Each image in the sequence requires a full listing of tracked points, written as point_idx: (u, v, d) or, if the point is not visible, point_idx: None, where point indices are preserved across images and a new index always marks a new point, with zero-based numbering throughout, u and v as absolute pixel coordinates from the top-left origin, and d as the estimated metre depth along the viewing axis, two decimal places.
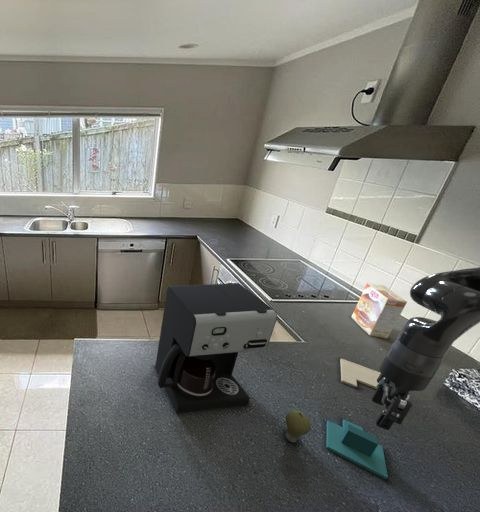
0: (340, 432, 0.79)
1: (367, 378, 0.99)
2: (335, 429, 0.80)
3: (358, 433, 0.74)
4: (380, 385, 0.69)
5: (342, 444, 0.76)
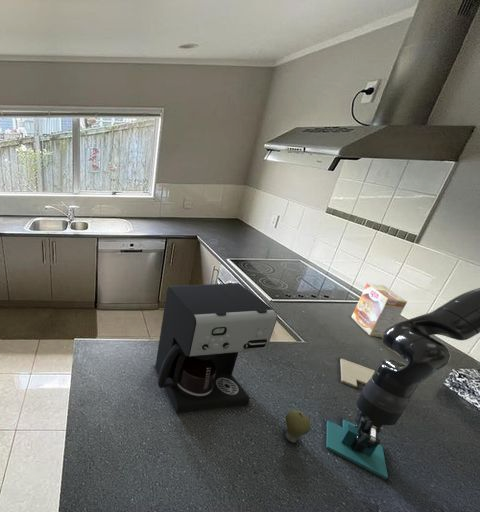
0: (340, 432, 0.79)
1: (367, 378, 0.99)
2: (335, 429, 0.80)
3: None
4: (358, 421, 0.75)
5: (342, 444, 0.76)
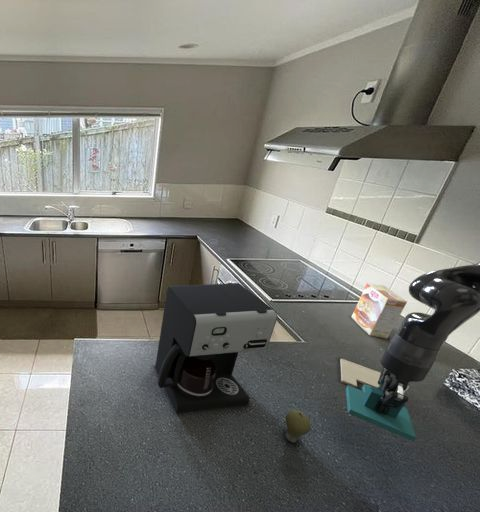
0: (361, 396, 0.76)
1: (367, 378, 0.99)
2: (357, 393, 0.77)
3: None
4: (382, 382, 0.71)
5: (365, 407, 0.73)
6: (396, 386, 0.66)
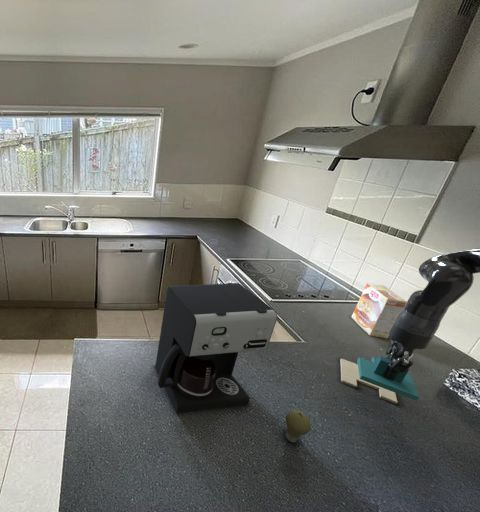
0: (371, 365, 0.88)
1: None
2: (367, 363, 0.88)
3: None
4: (390, 352, 0.83)
5: (375, 374, 0.84)
6: (402, 353, 0.77)
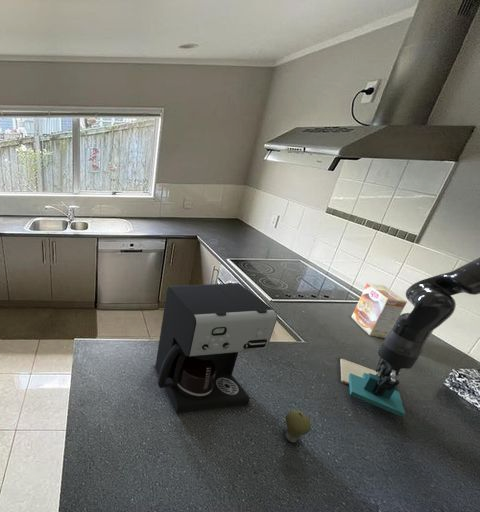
0: (361, 381, 0.92)
1: None
2: (358, 379, 0.93)
3: None
4: (379, 370, 0.87)
5: (364, 390, 0.89)
6: (390, 372, 0.81)
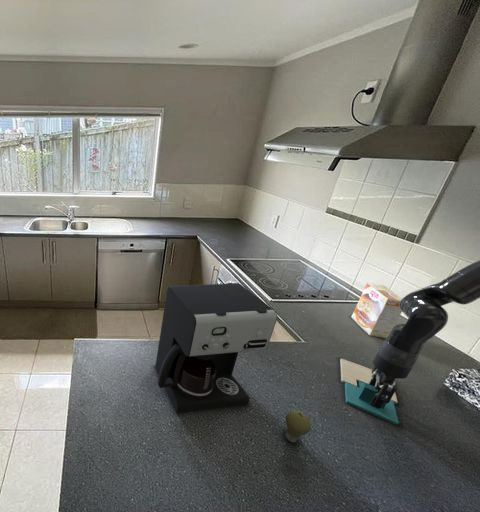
0: (357, 390, 0.93)
1: (367, 378, 0.99)
2: (353, 388, 0.94)
3: (373, 389, 0.88)
4: (374, 375, 0.89)
5: (359, 399, 0.90)
6: (385, 382, 0.83)
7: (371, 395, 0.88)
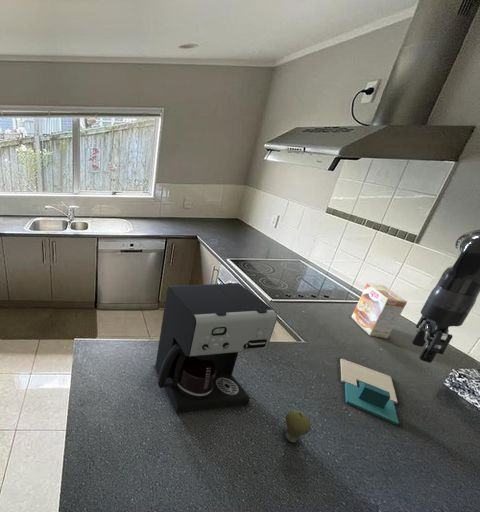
0: (357, 390, 0.93)
1: (367, 378, 0.99)
2: (353, 388, 0.94)
3: (373, 389, 0.88)
4: (420, 328, 0.81)
5: (359, 399, 0.90)
6: (437, 331, 0.75)
7: (371, 395, 0.88)
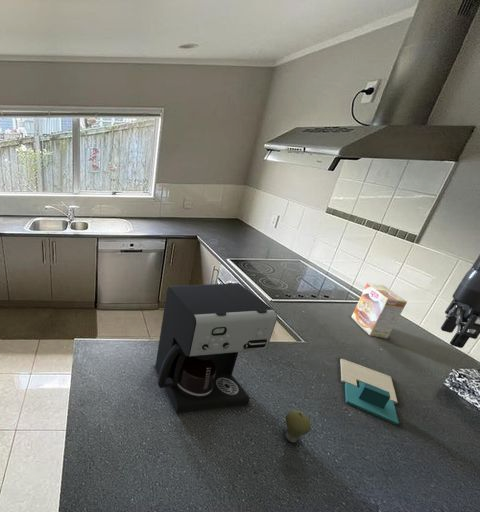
0: (357, 390, 0.93)
1: (367, 378, 0.99)
2: (353, 388, 0.94)
3: (373, 389, 0.88)
4: (451, 313, 0.79)
5: (359, 399, 0.90)
6: (470, 315, 0.72)
7: (371, 395, 0.88)
